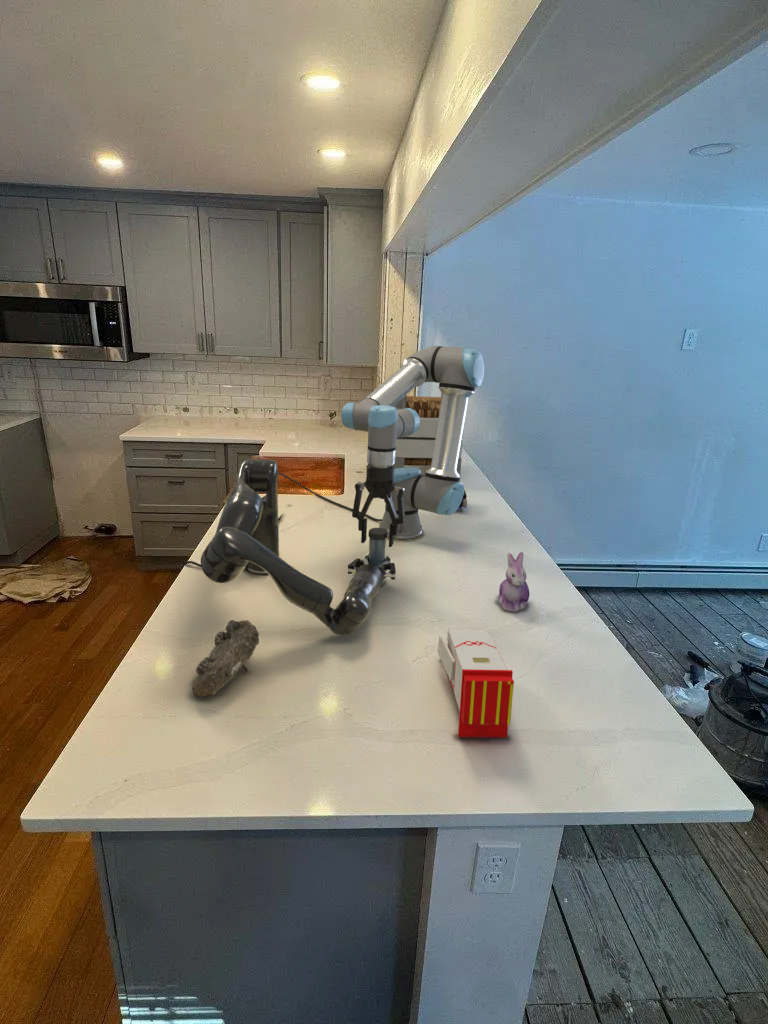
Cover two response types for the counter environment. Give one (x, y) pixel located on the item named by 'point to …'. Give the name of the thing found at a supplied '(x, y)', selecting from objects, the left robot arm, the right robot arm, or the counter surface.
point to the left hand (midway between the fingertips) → (378, 558)
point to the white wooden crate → (420, 433)
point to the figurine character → (463, 502)
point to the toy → (478, 682)
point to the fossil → (226, 657)
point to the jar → (377, 552)
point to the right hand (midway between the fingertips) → (377, 543)
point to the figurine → (514, 585)
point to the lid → (377, 533)
